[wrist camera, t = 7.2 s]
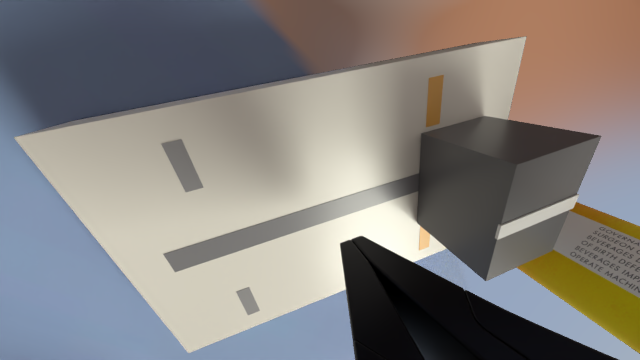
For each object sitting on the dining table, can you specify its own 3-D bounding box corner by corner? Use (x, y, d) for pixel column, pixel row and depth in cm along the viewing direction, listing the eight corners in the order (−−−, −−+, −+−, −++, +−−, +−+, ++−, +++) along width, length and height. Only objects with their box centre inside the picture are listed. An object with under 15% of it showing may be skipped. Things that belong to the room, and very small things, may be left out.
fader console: (196, 309, 13) (188, 353, 11) (70, 121, 8) (12, 137, 6) (452, 214, 17) (482, 234, 15) (476, 42, 12) (527, 36, 10)
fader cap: (416, 223, 12) (485, 282, 9) (420, 133, 10) (517, 165, 6) (470, 203, 13) (554, 251, 10) (485, 115, 11) (604, 136, 7)
